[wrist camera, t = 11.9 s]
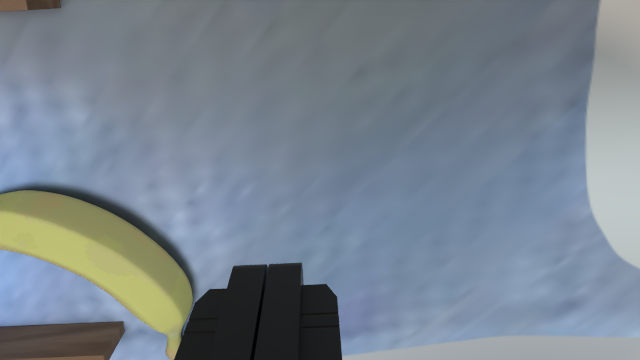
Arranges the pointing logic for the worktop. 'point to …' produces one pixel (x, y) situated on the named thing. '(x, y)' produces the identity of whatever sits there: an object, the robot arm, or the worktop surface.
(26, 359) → the box
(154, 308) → the banana
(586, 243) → the worktop surface
